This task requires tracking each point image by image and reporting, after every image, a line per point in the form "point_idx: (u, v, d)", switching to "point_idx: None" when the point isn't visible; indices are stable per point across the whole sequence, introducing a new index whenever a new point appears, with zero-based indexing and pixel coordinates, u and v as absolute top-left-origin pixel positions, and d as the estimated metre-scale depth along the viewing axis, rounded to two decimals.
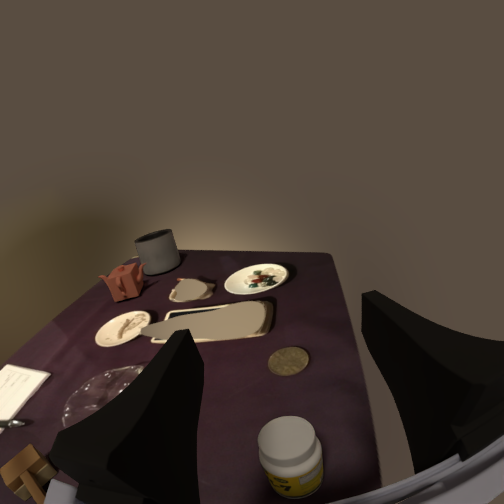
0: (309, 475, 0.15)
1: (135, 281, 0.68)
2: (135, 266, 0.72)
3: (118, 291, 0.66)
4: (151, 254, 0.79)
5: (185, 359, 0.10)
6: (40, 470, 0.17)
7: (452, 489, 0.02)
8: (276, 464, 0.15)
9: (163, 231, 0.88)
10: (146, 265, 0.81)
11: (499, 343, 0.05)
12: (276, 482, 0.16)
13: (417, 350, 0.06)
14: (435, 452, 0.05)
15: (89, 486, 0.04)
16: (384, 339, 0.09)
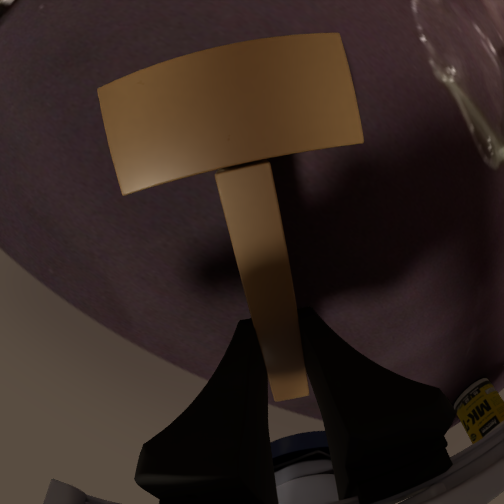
0: None
1: None
2: None
3: None
4: None
5: (257, 349, 0.10)
6: None
7: (451, 489, 0.02)
8: None
9: None
10: None
11: (419, 384, 0.05)
12: (471, 428, 0.15)
13: (324, 379, 0.07)
14: (342, 486, 0.05)
15: (175, 501, 0.04)
16: (309, 359, 0.09)
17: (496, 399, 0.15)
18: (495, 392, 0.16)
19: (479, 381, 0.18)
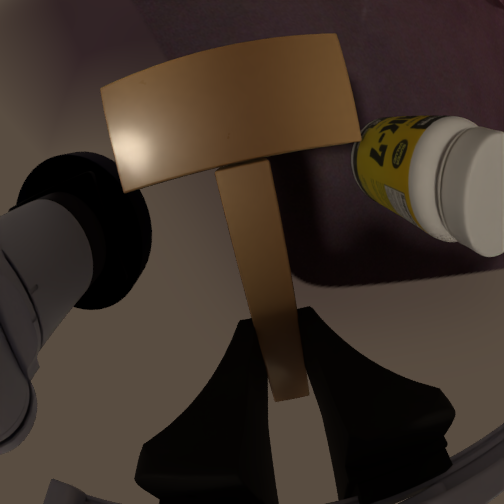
0: (403, 209, 0.09)
1: None
2: None
3: None
4: None
5: (257, 348, 0.10)
6: (306, 149, 0.09)
7: (452, 489, 0.02)
8: (448, 163, 0.06)
9: None
10: None
11: (419, 384, 0.05)
12: (392, 140, 0.09)
13: (323, 379, 0.07)
14: (342, 486, 0.05)
15: (175, 501, 0.04)
16: (309, 359, 0.09)
17: None
18: None
19: None
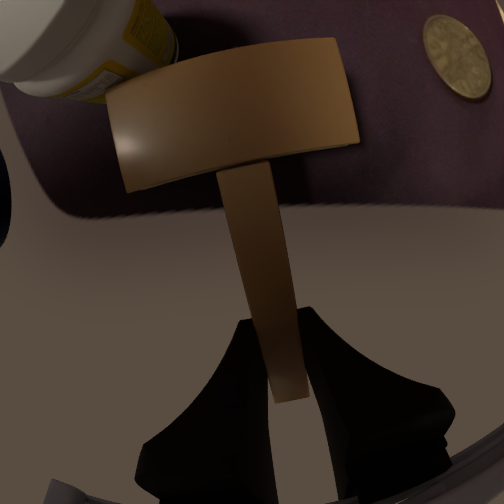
0: None
1: None
2: None
3: None
4: None
5: (257, 348, 0.10)
6: (305, 151, 0.09)
7: (452, 489, 0.02)
8: None
9: None
10: None
11: (419, 384, 0.05)
12: None
13: (323, 379, 0.07)
14: (342, 486, 0.05)
15: (175, 501, 0.04)
16: (309, 359, 0.09)
17: None
18: None
19: None
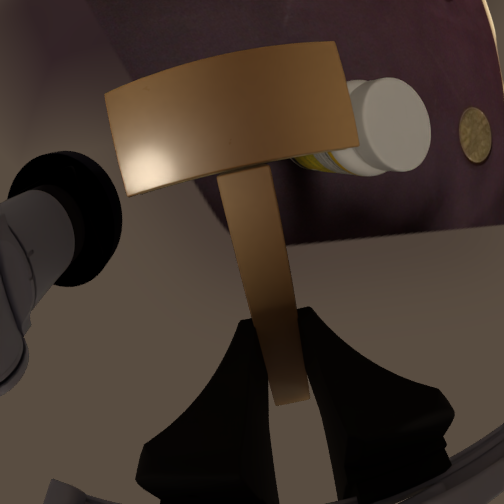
0: (326, 158, 0.12)
1: None
2: None
3: None
4: None
5: (258, 348, 0.10)
6: (305, 155, 0.09)
7: (451, 489, 0.02)
8: None
9: None
10: None
11: (418, 384, 0.05)
12: None
13: (323, 379, 0.07)
14: (341, 486, 0.05)
15: (176, 502, 0.04)
16: (308, 359, 0.09)
17: None
18: None
19: None
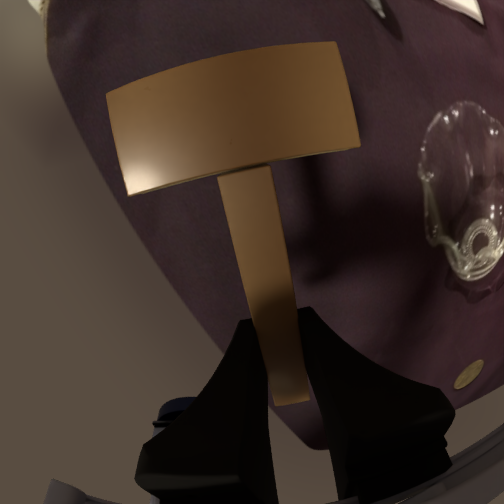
0: None
1: None
2: None
3: None
4: None
5: (257, 348, 0.10)
6: (306, 155, 0.09)
7: (451, 489, 0.02)
8: None
9: None
10: None
11: (419, 384, 0.05)
12: None
13: (323, 379, 0.07)
14: (342, 486, 0.05)
15: (175, 501, 0.04)
16: (309, 359, 0.09)
17: None
18: None
19: None
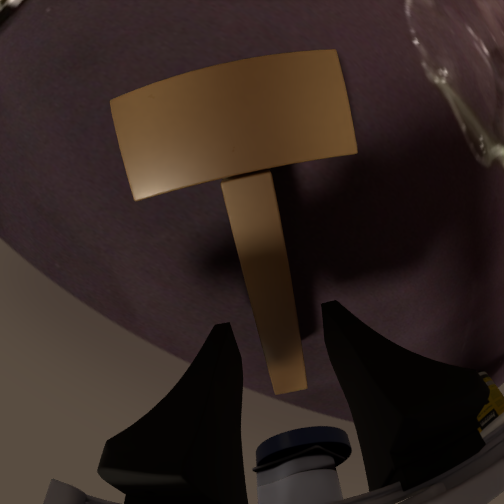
0: None
1: None
2: None
3: None
4: None
5: (229, 353, 0.10)
6: None
7: (452, 489, 0.02)
8: None
9: None
10: None
11: (454, 368, 0.05)
12: None
13: (362, 369, 0.06)
14: (380, 474, 0.05)
15: (139, 497, 0.04)
16: (339, 352, 0.09)
17: (494, 392, 0.16)
18: (493, 385, 0.17)
19: None
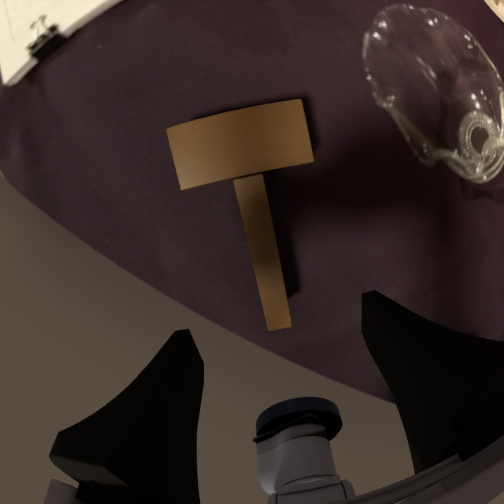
0: None
1: None
2: None
3: None
4: None
5: (185, 359, 0.10)
6: None
7: (451, 489, 0.02)
8: None
9: None
10: None
11: (499, 343, 0.05)
12: None
13: (417, 350, 0.06)
14: (434, 452, 0.05)
15: (89, 486, 0.04)
16: (384, 339, 0.09)
17: None
18: None
19: None
